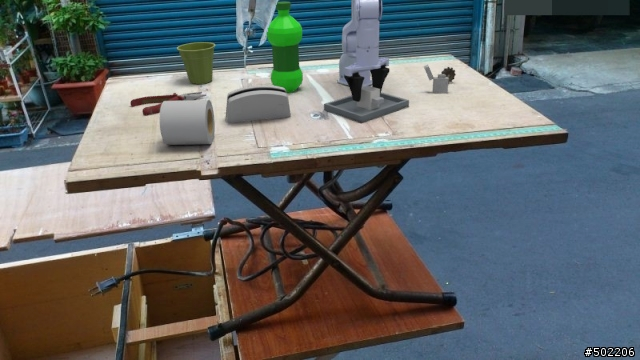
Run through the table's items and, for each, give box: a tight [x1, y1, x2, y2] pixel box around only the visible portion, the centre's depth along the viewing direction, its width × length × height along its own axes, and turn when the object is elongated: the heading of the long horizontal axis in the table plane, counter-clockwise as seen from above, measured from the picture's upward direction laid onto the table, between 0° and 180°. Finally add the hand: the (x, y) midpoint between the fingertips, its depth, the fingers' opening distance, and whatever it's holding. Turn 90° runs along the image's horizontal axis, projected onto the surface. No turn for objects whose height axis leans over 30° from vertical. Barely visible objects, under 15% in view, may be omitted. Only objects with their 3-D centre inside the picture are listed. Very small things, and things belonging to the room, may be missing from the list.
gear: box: [440, 66, 457, 84], centre depth 161 cm, size 5×1×5 cm, turn 108°
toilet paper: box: [159, 99, 216, 146], centre depth 122 cm, size 10×10×10 cm
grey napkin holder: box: [225, 84, 292, 123], centre depth 137 cm, size 17×5×10 cm, turn 103°
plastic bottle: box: [266, 0, 304, 93], centre depth 155 cm, size 10×10×25 cm
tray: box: [323, 91, 410, 124], centre depth 143 cm, size 14×18×2 cm
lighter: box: [423, 64, 449, 94], centre depth 153 cm, size 7×2×8 cm, turn 85°
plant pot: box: [176, 41, 216, 85], centre depth 168 cm, size 12×12×11 cm
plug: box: [357, 85, 384, 110], centre depth 142 cm, size 9×4×5 cm, turn 41°
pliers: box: [130, 91, 207, 117], centre depth 151 cm, size 12×20×3 cm, turn 127°
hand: (366, 97), depth 142 cm, fingers open, 7 cm apart
